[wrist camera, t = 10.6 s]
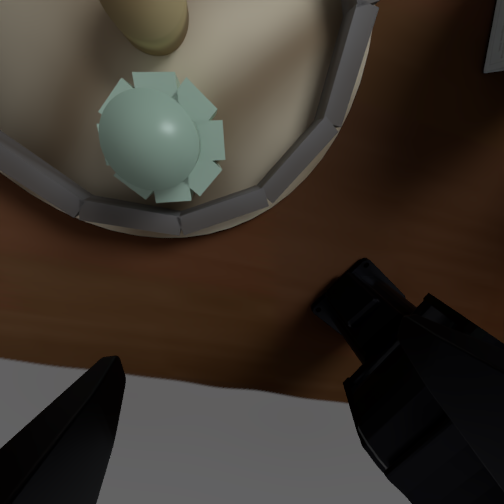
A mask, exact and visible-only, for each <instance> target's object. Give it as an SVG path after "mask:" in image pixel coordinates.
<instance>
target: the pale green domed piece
mask: <svg viewBox="0 0 504 504" xmlns="http://www.w3.org/2000/svg"><path fill="white" fill-rule="evenodd" d="M132 75H133V81H134V86H135V87H133V86H132V85H131V84H129V83H128V82H127V81H125V80H124V79H123V78H121V79H120V80H119V82H118V83H117V85H116V86H115V88H114V89H113V91H112V92H111V93H110V95H109V96H108V98H107V99H106V101H105V102H104V104H103V105H102V107H101V108H100V110H99V111H98V112H99V113H100V114H102V115H101V118H100V122H99V124H97V128H98V133H99V141H100V146H101V149H102V152H103V154H104V157H105V161H106V165H107V166H108V165H110V166H111V168H112V169H113V170H114V171H115V172H116V173H115V174H114V175H113V176H115V177H116V178H117V179H119V180H120V181H121V182H123V183H124V184H125V185H127V186H128V187H129V188H131V189H132V190H133V191H135V192H136V193H137V194H139V195H140V196H141V197H143V198H144V199H145V200H146V199H147V198H148V197H149V196H151V195H152V194H153V193H154V195H155V200H156V203H164V202H179V201H191V200H192V197H193V194H194V192H195V193H197V194H198V195H199V196H201V195H202V193H203V192H204V191H205V190H206V189H207V187H208V186H209V185H210V184H211V183H212V182H213V180H214V179H215V178H216V177H217V176H218V174H219V173H220V172H221V171H222V168H221V166H220V165H219V164H218V163H217V162H215V161H214V160H225V148H224V134H223V120H212V119H213V118H214V116H215V115H216V113H217V108H216V107H215V106H214V105H213V104H212V103H211V102H210V101H209V100H208V99H207V98H206V97H205V96H204V95H203V94H202V93H201V92H200V91H199V90H198V89H197V88H196V86H195V85H194V84H193V83H192V82H191V81H190V80H189V79H188V78H187V77H186V78H185V80H184V81H183V82H182V84H181V85H180V82H179V80H178V78H177V76H176V74H175V72H132Z"/></svg>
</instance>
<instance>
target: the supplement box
mask: <svg viewBox="0 0 504 504" xmlns="http://www.w3.org/2000/svg"><path fill="white" fill-rule="evenodd" d="M497 71H504V0H497V3H496V8H495V13H494V19H493V24H492V29H491V35H490V40H489V45H488V50H487V56H486V61H485V66H484V73H490V72H497Z"/></svg>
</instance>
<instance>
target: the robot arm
mask: <svg viewBox="0 0 504 504" xmlns="http://www.w3.org/2000/svg"><path fill="white" fill-rule="evenodd" d="M365 263H366V265H365V266H364V264H365ZM423 299H424V301H423V302H422V303H421V304H420V305H419V306H418V307H415V306H414V305H413V304H412V303H410V302H409V301H408V300H407V299H405V296H404V295H403V294H402V292H401V291H400V290H399V289H398V288H397V287H396V286H395V285H394V284H393V283H392V282H391V281H390V280H389V279H388V278H387V277H386V276H385V275H384V274H383V273H382V272H381V271H380V270H379V269H378V268H377V267H376V266H375V265H374V264H373V263H372V262H371V261H370V260H369V259H367V258H362V259H361V260H360V261H359V262H358V263H356V264H355V265H354V266H353V267H352V268H351V269H350V270H349V271H348V272H347V273H346V274H345V275H344V276H343V277H342V278H341V279H339V280H338V281H337V282H336V283H335V284H334V285H333V286H332V287H331V288H330V289H329V290H328V291H327V292H326V293H325V294H324V295H322V296H321V297H320V298H319V299H318V300H317V301H316V302H315V303H314V304H313V305H312V307H311V309H312V311H313V313H314V314H315V315H317V316H318V317H319V318H320V319H322V320H323V321H324V322H326V323H327V324H328V325H329V326H331V327H332V328H333V329H335V330H336V331H337V332H338V333H340V334H341V335H342V336H343V337H344V338H345V340H346V341H347V343H348V344H349V346H350V347H351V348H352V350H353V351H354V353H355V354H356V356H357V357H358V359H359V360H360V361H361V363H362V365H361V366H360V367H359V369H358V370H357V371H356V372H355V373H354V374H353V375H352V376H351V377H350V378H347V379H346V380H345V381H344V382H343V385H344V389H345V392H346V396H347V399H348V402H349V406H350V409H351V413H352V416H353V420H354V423H355V427H356V430H357V433H358V436H359V438H360V441H361V444H362V446H363V448H364V449H365V450H366V451H367V453H368V454H369V456H370V457H371V458H372V459H373V461H374V462H375V464H376V465H377V466H378V467H379V468H380V469H381V471H382V472H383V473H384V474H385V476H386V477H387V479H388V480H389V481H390V482H391V483H392V484H394V486H396V487H397V488H398V489H399V490H400V491H401V492H402V493H403V494H404V495H405V496H406V497H407V498H408V500H409V501H410V502H411V503H412V504H504V344H503V343H502V342H500V341H499V340H497V339H496V338H494V337H493V336H492V335H490V334H489V333H487V332H486V331H484V330H483V329H481V328H480V327H478V326H477V325H475V324H474V323H472V322H471V321H470V320H468V319H467V318H465V317H464V316H462V315H461V314H459V313H458V312H456V311H455V310H453V309H452V308H450V307H449V306H447V305H446V304H444V303H443V302H441V301H440V300H438V299H437V298H435V297H434V296H433V295H431V294H430V293H428V294H427V295H426V296H425V297H424V298H423ZM316 308H319V309H317V310H316ZM125 383H126V377H125V373H124V370H123V367H122V364H121V361H120V358H119V357H118V356H108V357H103V358H101V359H100V360H99V361H98V362H97V363H95V364H94V365H93V366H92V367H91V368H90V369H89V370H88V371H87V372H85V374H83V375H82V376H81V377H80V378H79V379H78V380H77V381H75V382H74V383H73V384H72V385H71V386H70V387H69V388H68V389H66V390H65V391H64V392H63V393H62V394H61V395H60V396H59V397H57V398H56V399H55V400H54V401H53V402H52V403H51V404H50V405H49V406H47V407H46V408H45V409H44V410H43V411H42V412H41V413H40V414H38V415H37V416H36V417H35V418H34V419H33V420H32V421H31V422H30V423H29V424H27V425H26V426H25V427H24V428H23V429H22V430H21V431H20V432H18V433H17V434H16V435H15V436H14V437H13V438H12V439H11V440H9V441H8V442H7V443H6V444H5V445H4V446H3V447H2V448H1V449H0V504H96V502H97V499H98V496H99V492H100V489H101V485H102V482H103V479H104V475H105V472H106V469H107V465H108V462H109V459H110V455H111V451H112V448H113V444H114V440H115V436H116V431H117V426H118V421H119V415H120V410H121V405H122V400H123V394H124V389H125Z"/></svg>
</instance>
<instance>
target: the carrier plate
mask: <svg viewBox="0 0 504 504" xmlns="http://www.w3.org/2000/svg"><path fill="white" fill-rule="evenodd" d="M378 1H380V0H0V172H1V173H2V174H3V175H5V176H6V177H7V178H9V179H10V180H12V181H13V182H14V183H16V184H17V185H19V186H20V187H21V188H23V189H24V190H26V191H27V192H29V193H30V194H32V195H33V196H35V197H37V198H39V199H40V200H42V201H44V202H46V203H47V204H49V205H51V206H52V207H54V208H56V209H58V210H60V211H62V212H64V213H67V214H68V215H70V216H72V217H73V218H75V217H76V218H78V219H79V220H82V221H85V222H87V223H90V224H94V225H97V226H100V227H103V228H106V229H109V230H112V231H117V232H122V233H127V234H131V235H136V236H146V237H157V238H181V237H191V236H198V235H205V234H210V233H214V232H217V231H221V230H225V229H228V228H231V227H234V226H236V225H238V224H241V223H243V222H246V221H248V220H250V219H252V218H254V217H256V216H258V215H259V214H261V213H263V212H265V211H266V210H268V209H270V208H271V207H273V206H274V205H275V204H277V203H278V202H279V201H281V200H282V199H283V198H285V197H286V196H287V195H289V194H290V193H291V192H292V191H293V190H294V189H295V188H296V187H297V186H298V185H299V184H300V183H301V182H302V181H303V180H304V179H305V178H307V176H308V175H309V174H310V173H311V171H312V170H313V169H314V168H315V167H316V165H317V164H318V163H319V162H320V161H321V159H322V158H323V157H324V155H325V153H326V152H327V150H328V149H329V147H330V146H331V144H332V143H333V141H334V140H335V138H336V136H337V135H338V133H339V131H340V129H341V127H342V125H343V123H344V121H345V119H346V117H347V115H348V113H349V111H350V108H351V106H352V103H353V100H354V98H355V95H356V92H357V90H358V87H359V84H360V81H361V78H362V74H363V70H364V66H365V63H366V59H367V55H368V51H369V45H370V39H371V33H372V28H373V25H374V22H375V19H376V16H377V12H378V9H379V7H377V6H375V4H376V3H377V2H378ZM132 72H175V74H176V76H177V78H178V80H179V82H180V85H181V84H182V82H183V81H184V80H185V78H186V77H187V78H188V79H189V80H190V81H191V82H192V83H193V84H194V85H195V86H196V88H197V89H198V90H199V91H200V92H201V93H202V94H203V95H204V96H205V97H206V98H207V99H208V100H209V101H210V102H211V103H212V104H213V105H214V106H215V107H216V108H217V113H216V115H215V116H214V118H213V119H212V120H223V134H224V148H225V160H214V161H215V162H217V163H218V164H219V165H220V166H221V168H222V171H221V172H220V173H219V174H218V176H217V177H216V178H215V179H214V180H213V182H212V183H211V184H210V185H209V186H208V187H207V189H206V190H205V191H204V192H203V193H202V195H201V196H199V195H198V194H197V193H195V192H194V194H193V197H192V200H191V201H179V202H164V203H156V200H155V195H154V193H153V194H152V195H151V196H149V197H148V198H147V199H146V200H145V199H144V198H143V197H141V196H140V195H139V194H137V193H136V192H135V191H133V190H132V189H131V188H129V187H128V186H127V185H125V184H124V183H123V182H121V181H120V180H119V179H117V178H116V177H115V176H113V175H114V174H115V173H116V172H115V171H114V170H113V169H112V168H111V166H110V165H108V166H107V165H106V161H105V157H104V154H103V152H102V149H101V146H100V141H99V133H98V128H97V124H99V122H100V118H101V115H102V114H100V113H99V112H98V111H99V110H100V108H101V107H102V105H103V104H104V102H105V101H106V99H107V98H108V96H109V95H110V93H111V92H112V91H113V89H114V88H115V86H116V85H117V83H118V82H119V80H120V79H121V78H123V79H124V80H125V81H127V82H128V83H129V84H131V85H132V86H133V87H135V86H134V81H133V75H132Z"/></svg>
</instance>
